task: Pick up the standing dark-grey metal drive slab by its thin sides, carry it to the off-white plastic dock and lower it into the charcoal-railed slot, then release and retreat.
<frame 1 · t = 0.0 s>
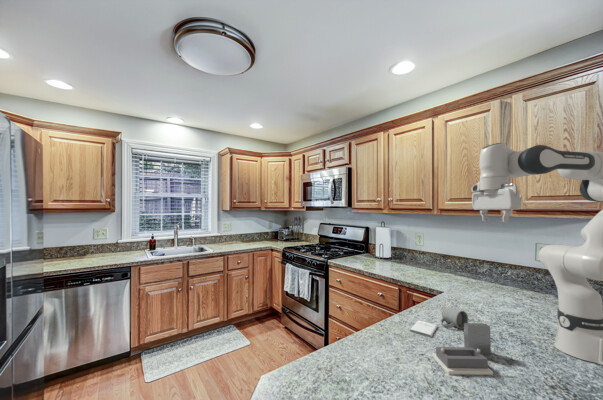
hand: (494, 221, 96), 48 cm above the worktop, fingers open, 8 cm apart
drive: (477, 352, 93), on the worktop
ceramic mug: (453, 326, 115), on the worktop
dock: (460, 364, 85), on the worktop
external hard drive: (424, 331, 111), on the worktop
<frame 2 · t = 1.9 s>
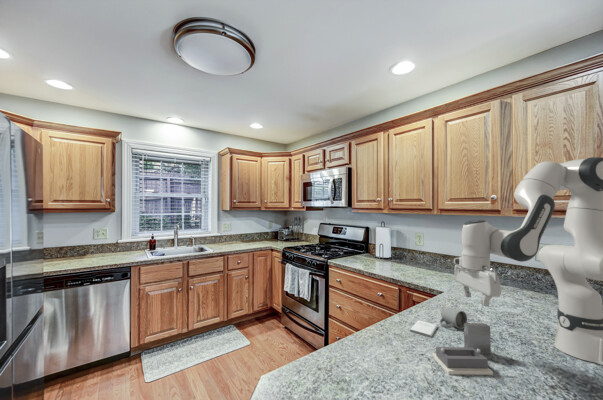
hand: (475, 301, 94), 19 cm above the worktop, fingers open, 8 cm apart
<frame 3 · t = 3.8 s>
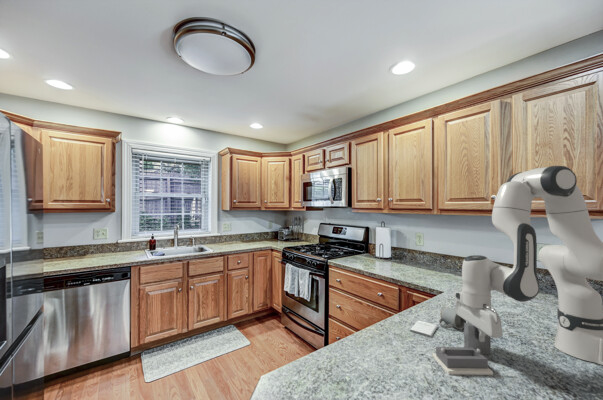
hand: (477, 338, 93), 5 cm above the worktop, fingers closed on drive, 2 cm apart
drive: (477, 352, 93), on the worktop, touching gripper
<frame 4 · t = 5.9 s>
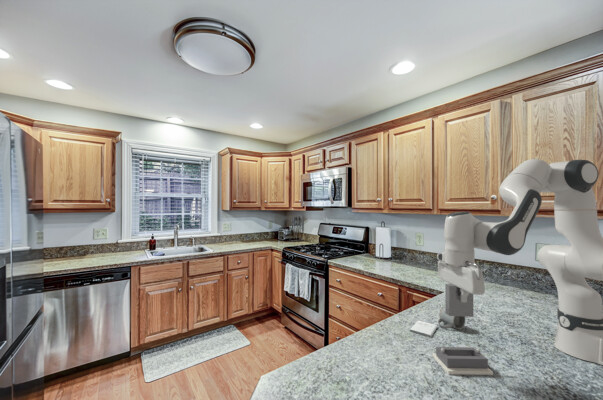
hand: (459, 299, 86), 22 cm above the worktop, fingers closed on drive, 2 cm apart
drive: (459, 314, 86), point 16 cm above the worktop, touching gripper
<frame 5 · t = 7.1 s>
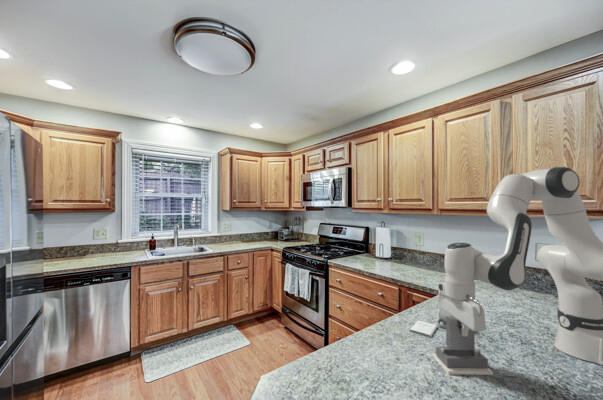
hand: (460, 332, 85), 11 cm above the worktop, fingers closed on drive, 2 cm apart
drive: (460, 348, 85), point 6 cm above the worktop, touching gripper
when the fingers open (8 cm above the worktop, at t = 7.9 s): drive drops 1 cm, resting on dock.
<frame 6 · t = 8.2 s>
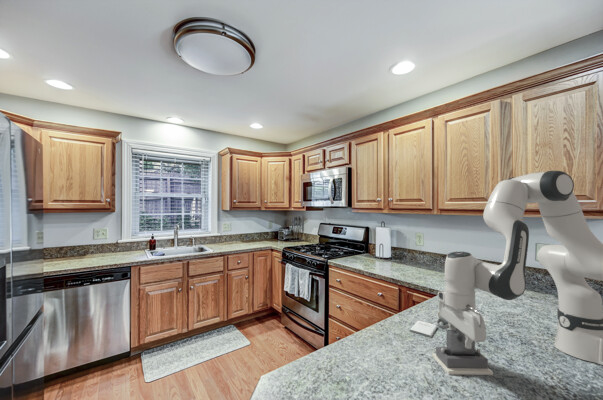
hand: (460, 341, 85), 8 cm above the worktop, fingers open, 6 cm apart
drive: (460, 361, 85), point 1 cm above the worktop, touching dock
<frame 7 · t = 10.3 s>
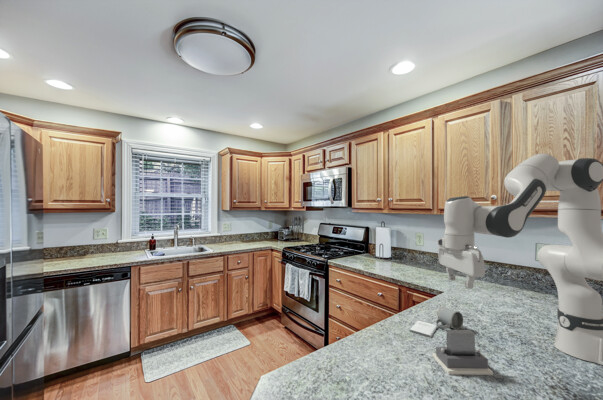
hand: (459, 283, 86), 27 cm above the worktop, fingers open, 8 cm apart
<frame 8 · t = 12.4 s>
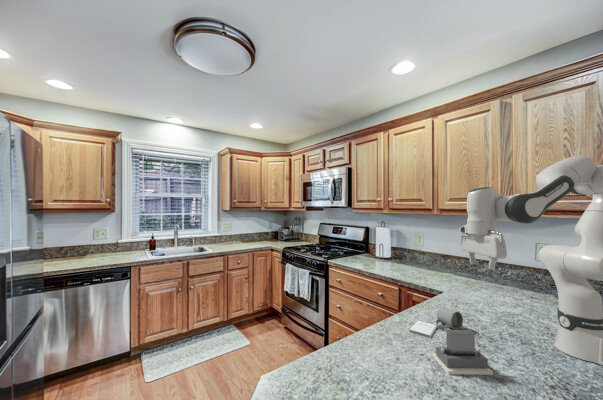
hand: (481, 266, 95), 31 cm above the worktop, fingers open, 8 cm apart
at the end: drive 0.0 cm off-centre on the dock, point 1.0 cm above the dock's base; drive tilted 0°; the gripper is holding nothing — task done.
